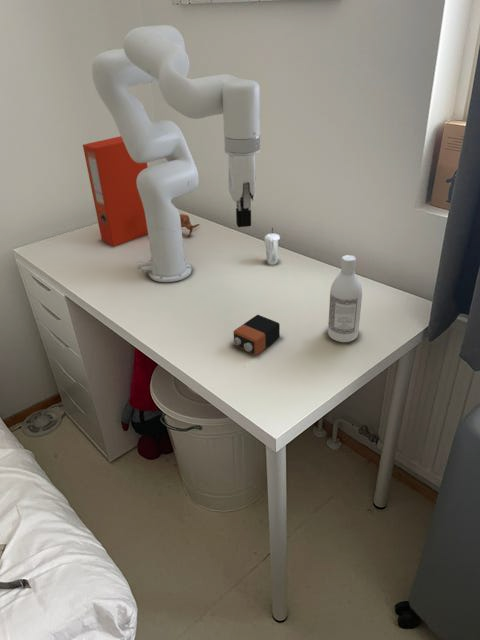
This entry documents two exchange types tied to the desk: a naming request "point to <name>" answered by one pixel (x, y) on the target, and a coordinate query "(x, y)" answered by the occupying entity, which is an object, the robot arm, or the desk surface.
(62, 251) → the desk surface
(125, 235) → the file binder
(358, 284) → the bath foam
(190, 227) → the cat figurine
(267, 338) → the battery
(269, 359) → the desk surface
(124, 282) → the desk surface
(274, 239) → the milkshake
